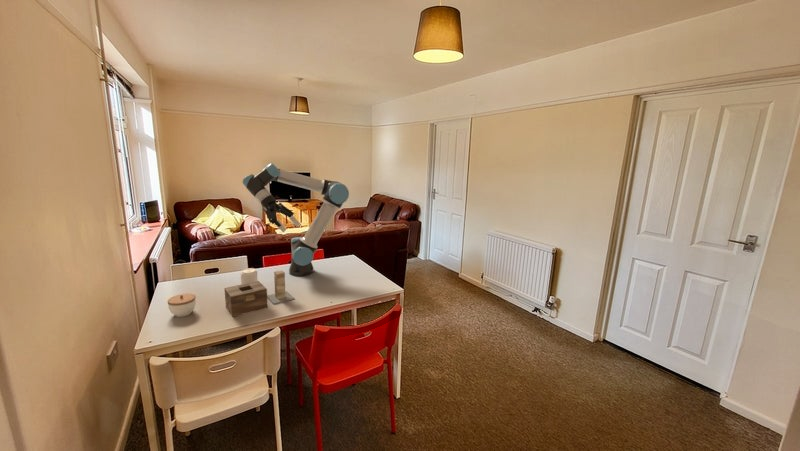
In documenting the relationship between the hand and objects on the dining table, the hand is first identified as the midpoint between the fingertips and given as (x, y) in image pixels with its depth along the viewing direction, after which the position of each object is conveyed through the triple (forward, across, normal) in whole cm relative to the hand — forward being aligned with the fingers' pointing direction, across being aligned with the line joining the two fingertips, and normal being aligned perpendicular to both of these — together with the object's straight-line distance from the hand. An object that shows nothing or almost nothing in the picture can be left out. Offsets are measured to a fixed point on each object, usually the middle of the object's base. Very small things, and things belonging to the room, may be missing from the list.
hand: (292, 228), depth 176 cm
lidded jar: (+2, +42, -47) cm, 63 cm away
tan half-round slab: (+10, +11, -39) cm, 42 cm away
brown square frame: (+18, +28, -31) cm, 46 cm away
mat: (+25, +14, -25) cm, 38 cm away
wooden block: (+24, +14, -25) cm, 37 cm away
